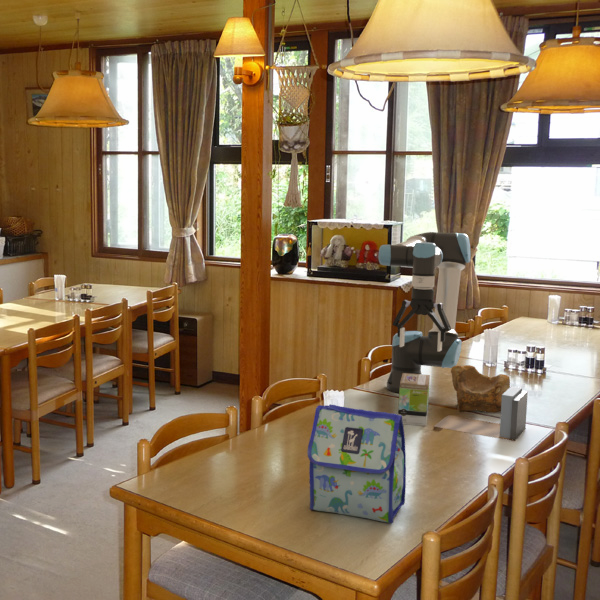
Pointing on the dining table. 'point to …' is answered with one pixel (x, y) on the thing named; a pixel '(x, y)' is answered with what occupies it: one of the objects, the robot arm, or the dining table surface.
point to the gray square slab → (518, 415)
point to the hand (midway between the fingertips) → (420, 348)
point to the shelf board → (470, 426)
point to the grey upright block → (507, 410)
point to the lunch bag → (357, 462)
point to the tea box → (414, 399)
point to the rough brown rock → (478, 389)
